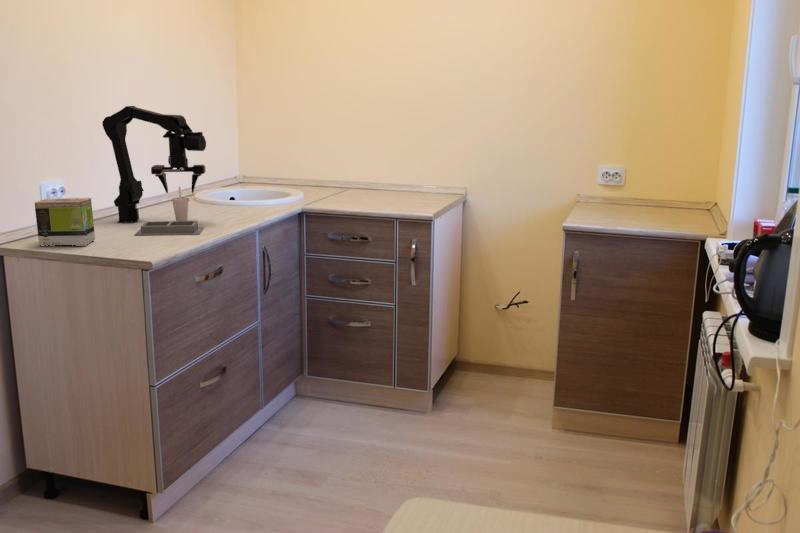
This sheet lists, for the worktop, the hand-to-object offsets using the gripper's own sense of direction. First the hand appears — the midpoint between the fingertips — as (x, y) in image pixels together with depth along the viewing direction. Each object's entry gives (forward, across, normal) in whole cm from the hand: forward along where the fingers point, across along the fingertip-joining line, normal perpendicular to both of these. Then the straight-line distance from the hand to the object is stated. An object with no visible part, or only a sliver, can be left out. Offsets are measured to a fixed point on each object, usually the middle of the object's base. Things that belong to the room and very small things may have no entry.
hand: (180, 192), depth 292 cm
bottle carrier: (+12, +2, +14) cm, 18 cm away
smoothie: (+12, 0, 0) cm, 12 cm away
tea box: (+12, +32, +32) cm, 47 cm away
